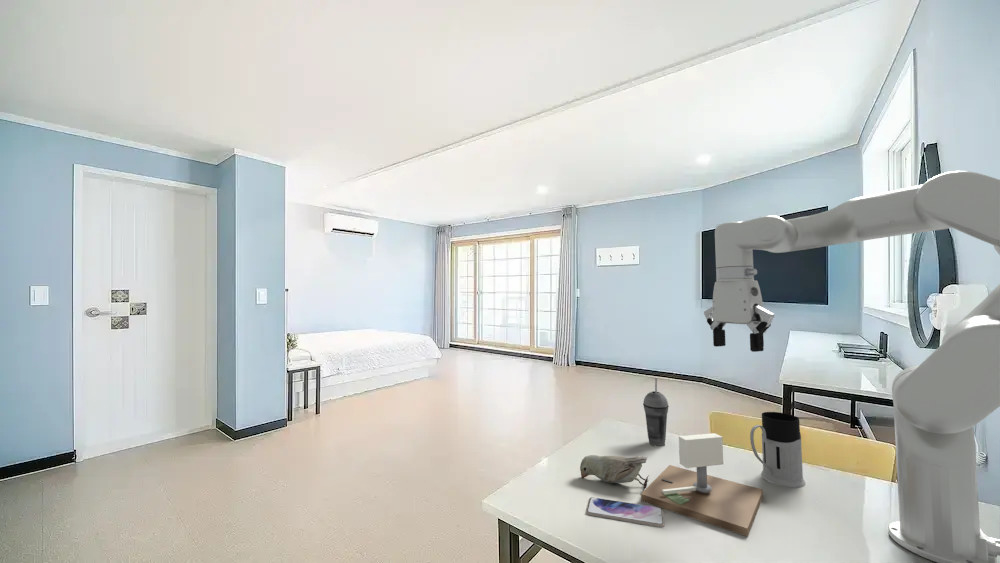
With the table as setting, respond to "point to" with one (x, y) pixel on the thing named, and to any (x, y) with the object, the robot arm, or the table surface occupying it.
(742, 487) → the brown wooden flat slab
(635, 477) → the decorative bird
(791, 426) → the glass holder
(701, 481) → the stand
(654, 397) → the beverage cup
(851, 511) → the table surface
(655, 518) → the smartphone
